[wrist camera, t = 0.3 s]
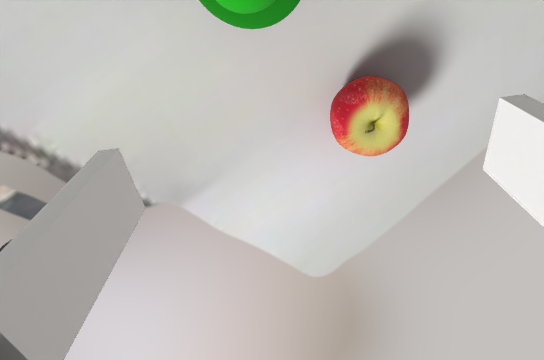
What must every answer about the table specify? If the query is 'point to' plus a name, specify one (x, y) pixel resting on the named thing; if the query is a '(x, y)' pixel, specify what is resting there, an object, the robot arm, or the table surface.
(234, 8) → the toy
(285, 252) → the table surface
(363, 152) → the apple
